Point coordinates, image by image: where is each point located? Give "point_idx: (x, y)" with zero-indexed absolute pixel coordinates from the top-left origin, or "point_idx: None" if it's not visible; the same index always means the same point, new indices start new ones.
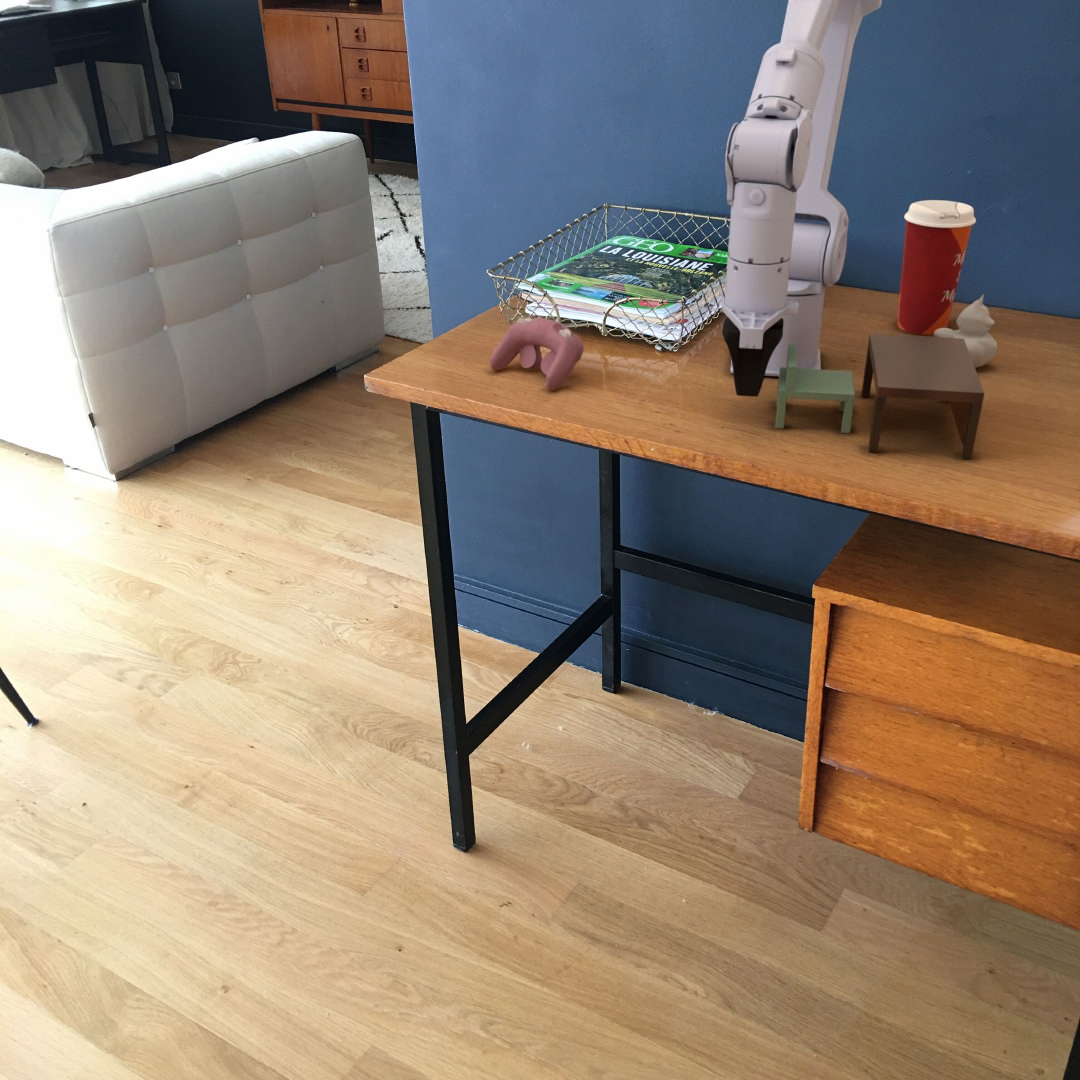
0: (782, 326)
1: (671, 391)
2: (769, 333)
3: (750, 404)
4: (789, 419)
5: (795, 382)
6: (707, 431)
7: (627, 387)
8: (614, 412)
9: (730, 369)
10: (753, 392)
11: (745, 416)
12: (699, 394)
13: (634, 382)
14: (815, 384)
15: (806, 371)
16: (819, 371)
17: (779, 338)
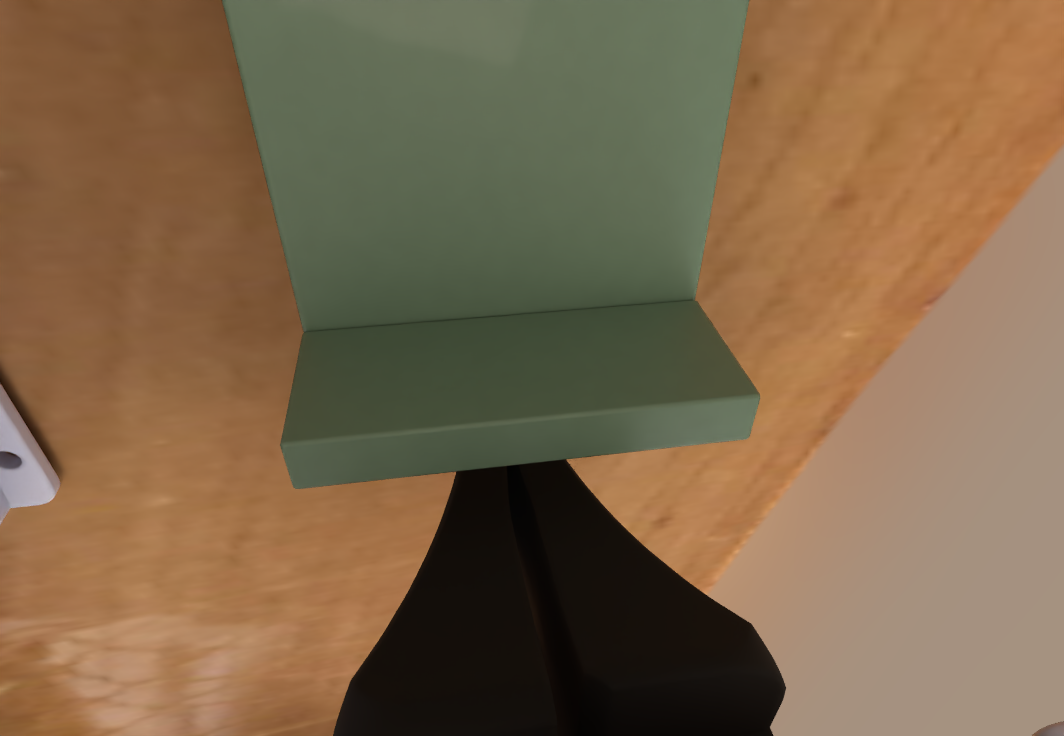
0: (553, 707)
1: (340, 594)
2: (709, 723)
3: None
4: None
5: (562, 302)
6: (657, 457)
7: (353, 675)
8: None
9: (44, 503)
10: None
11: None
12: (335, 530)
13: (305, 673)
14: (588, 183)
15: (350, 254)
16: (314, 164)
17: (769, 657)
